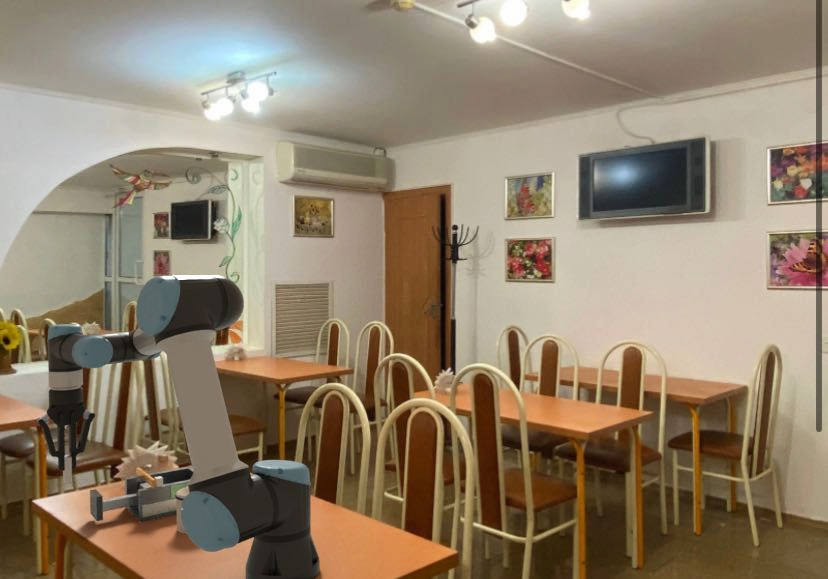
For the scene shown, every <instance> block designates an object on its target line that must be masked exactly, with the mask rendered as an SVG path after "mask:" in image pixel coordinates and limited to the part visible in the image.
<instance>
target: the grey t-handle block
mask: <svg viewBox="0 0 828 579" xmlns="http://www.w3.org/2000/svg"><path fill="white" fill-rule="evenodd" d="M135 468H136V470H135V471H136V476H139V477H140V478H142V479H143V480H144V481H145V482H146V483H141V484H139V489H143V488H149V487H155V479H154V478H152V477H151V476H150V475H148V474H149V473H147V472H146V471H144V469H143V468H141V467H135ZM103 497H104V496H103V495H102V494H101V493H100V491H98V490H97V489H90V490H89V510H90V511H89V512H90V515H91V516H92V518H94V520H95V522H101V521H104V513H103V512H108V511H109V512H110V511H113V510H119V509H125V508H126V507H129V506H134V505H138V493H133V494H128V495H125V494H124V495H123V494H122V495H119V496H114V497H109V498H108V497H107V498H103Z"/></svg>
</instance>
